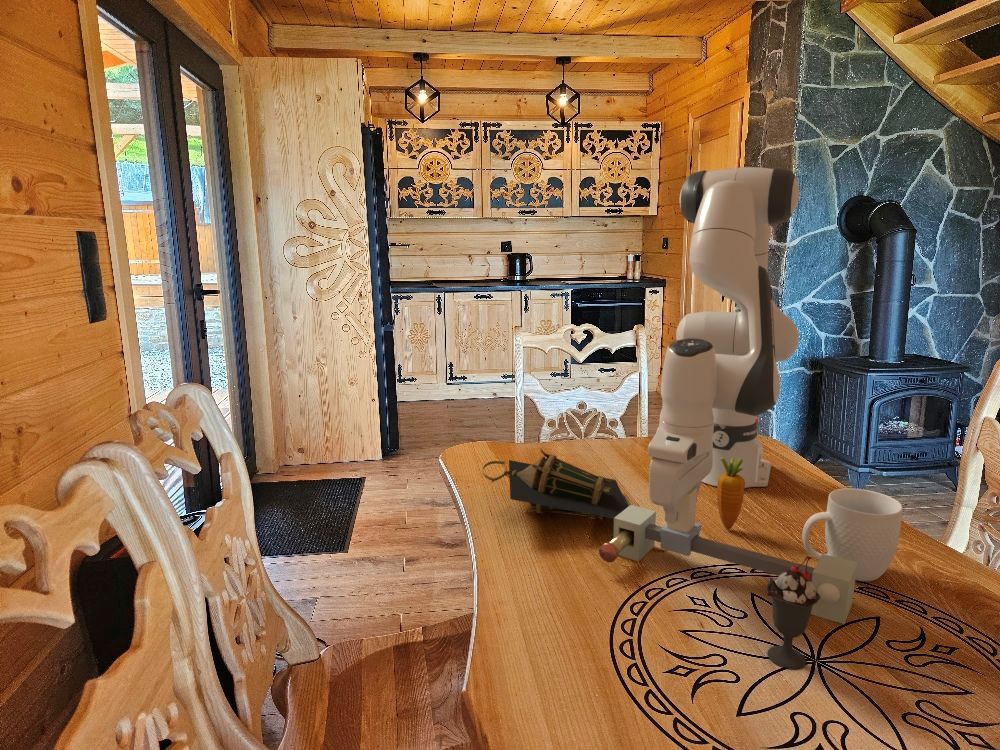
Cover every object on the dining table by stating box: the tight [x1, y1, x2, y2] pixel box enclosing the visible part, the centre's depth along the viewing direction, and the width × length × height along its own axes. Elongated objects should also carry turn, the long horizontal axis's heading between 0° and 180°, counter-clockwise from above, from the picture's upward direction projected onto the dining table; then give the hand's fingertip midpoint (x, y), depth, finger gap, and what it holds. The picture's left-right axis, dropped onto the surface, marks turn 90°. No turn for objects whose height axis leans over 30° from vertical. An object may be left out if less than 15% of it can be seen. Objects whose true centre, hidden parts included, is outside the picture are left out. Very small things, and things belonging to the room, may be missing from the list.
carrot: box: [716, 457, 746, 531], centre depth 128 cm, size 5×5×15 cm
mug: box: [801, 487, 903, 582], centre depth 112 cm, size 15×11×13 cm
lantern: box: [481, 447, 629, 521], centre depth 137 cm, size 14×23×30 cm
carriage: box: [660, 487, 702, 557], centre depth 115 cm, size 6×5×11 cm
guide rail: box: [612, 504, 857, 625], centre depth 111 cm, size 8×38×7 cm, turn 54°
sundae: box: [765, 555, 820, 670], centre depth 90 cm, size 7×7×15 cm
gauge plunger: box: [598, 529, 634, 563], centre depth 116 cm, size 10×3×3 cm, turn 144°
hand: (681, 512), depth 115 cm, fingers open, 8 cm apart
